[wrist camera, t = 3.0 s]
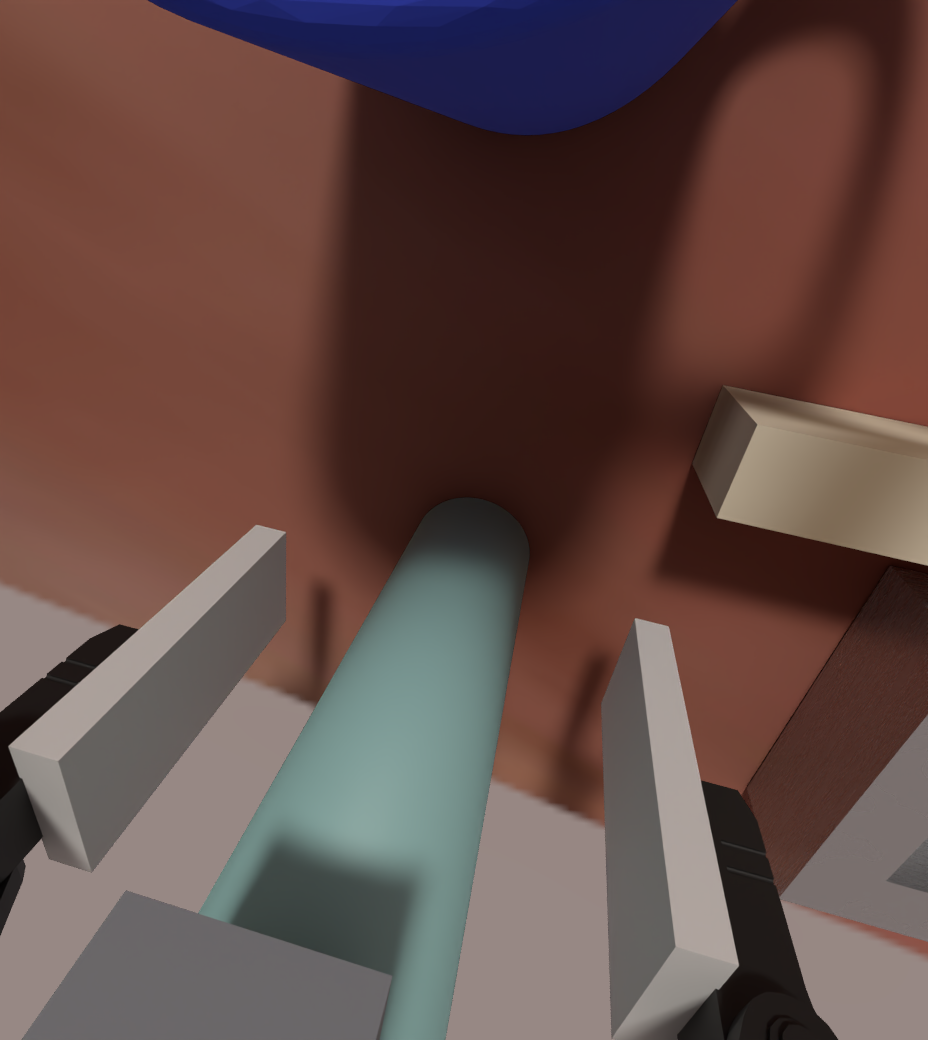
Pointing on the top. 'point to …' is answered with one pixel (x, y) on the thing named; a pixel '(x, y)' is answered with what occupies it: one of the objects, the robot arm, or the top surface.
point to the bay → (817, 473)
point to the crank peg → (341, 833)
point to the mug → (479, 50)
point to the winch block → (858, 772)
